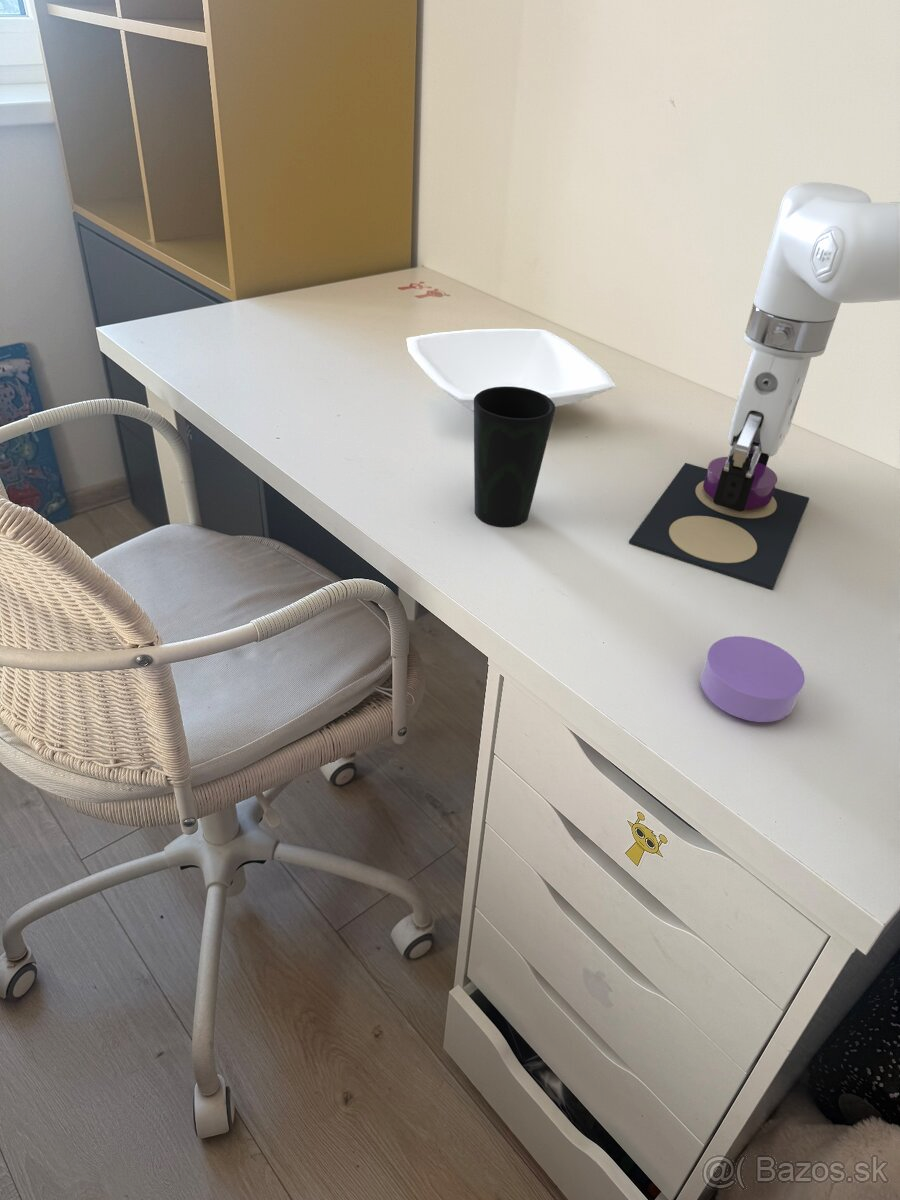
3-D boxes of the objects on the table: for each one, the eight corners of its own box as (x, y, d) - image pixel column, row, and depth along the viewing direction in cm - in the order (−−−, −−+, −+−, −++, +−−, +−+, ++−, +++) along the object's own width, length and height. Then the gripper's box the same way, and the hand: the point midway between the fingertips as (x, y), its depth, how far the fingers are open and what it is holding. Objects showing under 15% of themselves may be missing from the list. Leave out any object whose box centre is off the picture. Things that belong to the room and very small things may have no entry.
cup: (541, 535, 82) (558, 422, 74) (464, 530, 81) (474, 416, 74) (536, 496, 88) (551, 388, 81) (464, 491, 88) (473, 383, 80)
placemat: (808, 500, 91) (809, 496, 91) (772, 590, 77) (774, 585, 76) (684, 465, 96) (685, 461, 96) (628, 543, 82) (629, 539, 81)
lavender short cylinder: (799, 685, 66) (812, 656, 64) (782, 741, 61) (795, 712, 59) (710, 653, 69) (720, 625, 67) (687, 704, 63) (696, 675, 62)
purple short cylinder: (775, 492, 91) (783, 468, 89) (761, 521, 86) (770, 495, 84) (710, 474, 93) (717, 450, 92) (693, 500, 88) (700, 475, 86)
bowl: (542, 364, 119) (547, 324, 116) (622, 433, 102) (631, 389, 98) (392, 375, 112) (393, 333, 109) (452, 452, 95) (455, 405, 91)
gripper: (814, 365, 71) (757, 533, 81) (841, 314, 84) (789, 466, 94) (727, 345, 74) (682, 511, 84) (766, 299, 86) (723, 448, 96)
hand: (739, 487), depth 89 cm, fingers open, 9 cm apart
